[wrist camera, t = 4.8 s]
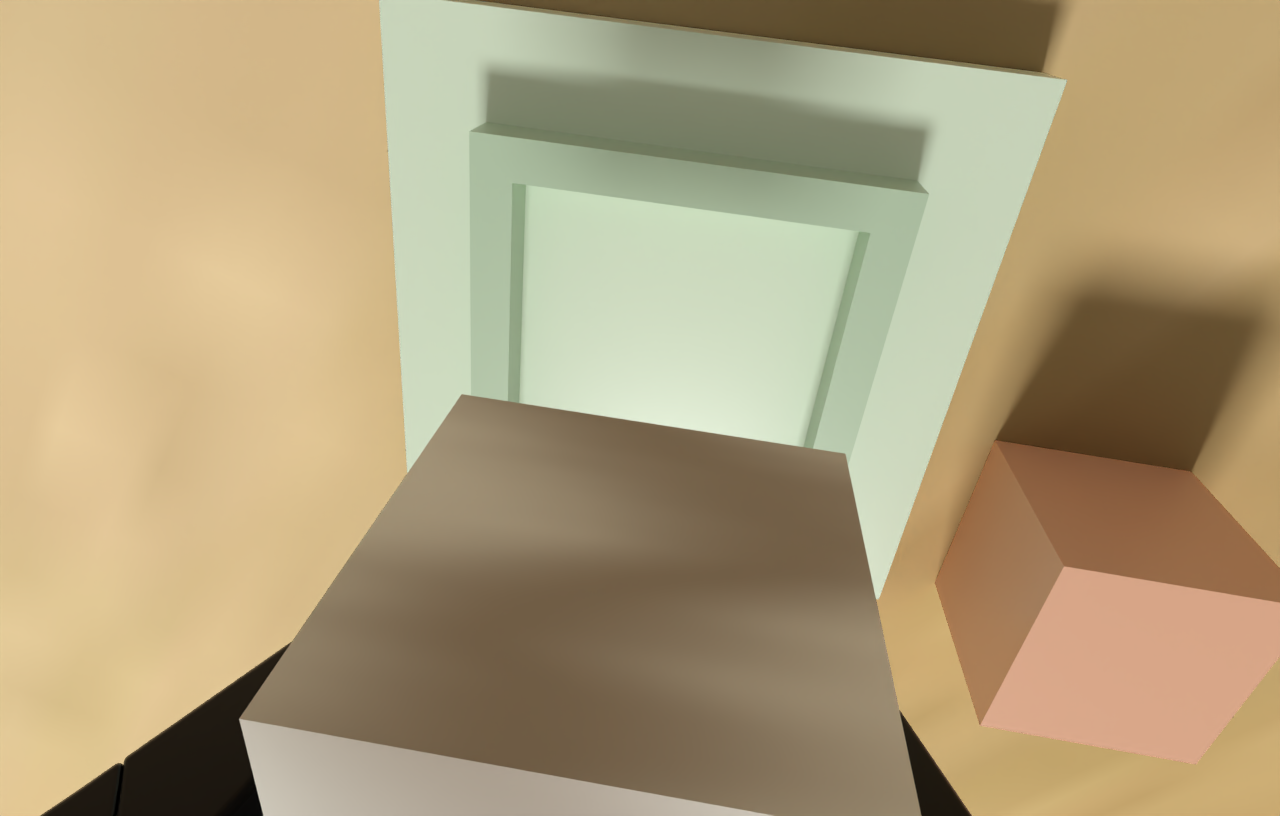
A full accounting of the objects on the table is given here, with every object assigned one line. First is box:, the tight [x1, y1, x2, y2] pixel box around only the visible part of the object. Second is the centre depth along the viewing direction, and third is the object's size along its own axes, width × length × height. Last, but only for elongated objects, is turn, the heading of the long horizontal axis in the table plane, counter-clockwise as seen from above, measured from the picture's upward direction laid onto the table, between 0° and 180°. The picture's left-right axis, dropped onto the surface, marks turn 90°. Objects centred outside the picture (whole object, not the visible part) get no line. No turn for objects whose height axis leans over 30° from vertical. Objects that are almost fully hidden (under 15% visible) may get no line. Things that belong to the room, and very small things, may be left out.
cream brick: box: [239, 394, 921, 816], centre depth 8 cm, size 4×4×4 cm
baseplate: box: [379, 0, 1067, 599], centre depth 16 cm, size 12×12×2 cm
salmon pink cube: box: [935, 440, 1280, 764], centre depth 17 cm, size 4×4×4 cm
